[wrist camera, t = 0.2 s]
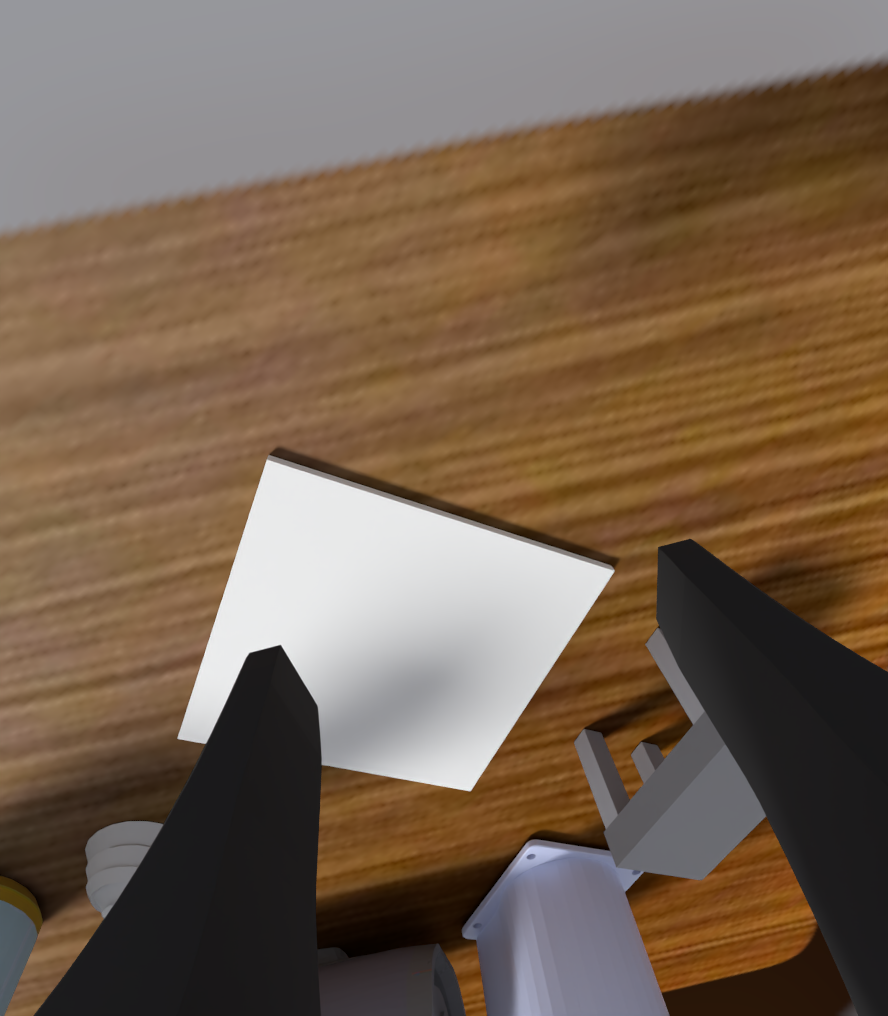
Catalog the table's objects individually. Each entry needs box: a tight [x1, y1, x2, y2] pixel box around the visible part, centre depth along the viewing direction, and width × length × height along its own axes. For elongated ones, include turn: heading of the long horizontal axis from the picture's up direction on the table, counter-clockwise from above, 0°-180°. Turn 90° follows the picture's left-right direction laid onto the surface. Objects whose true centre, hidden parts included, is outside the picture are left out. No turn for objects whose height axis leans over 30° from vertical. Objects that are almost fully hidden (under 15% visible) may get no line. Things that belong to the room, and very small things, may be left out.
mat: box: [178, 455, 614, 791], centre depth 25 cm, size 14×14×1 cm
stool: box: [574, 628, 766, 880], centre depth 26 cm, size 8×4×6 cm, turn 157°
